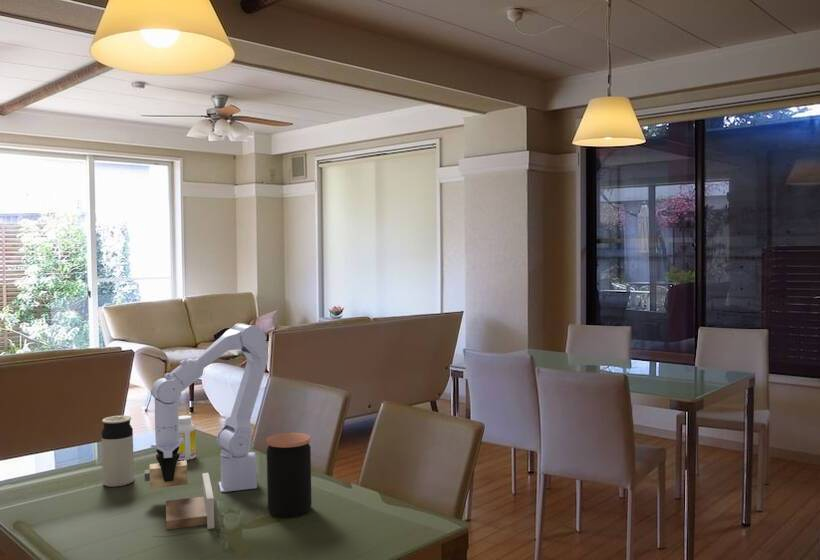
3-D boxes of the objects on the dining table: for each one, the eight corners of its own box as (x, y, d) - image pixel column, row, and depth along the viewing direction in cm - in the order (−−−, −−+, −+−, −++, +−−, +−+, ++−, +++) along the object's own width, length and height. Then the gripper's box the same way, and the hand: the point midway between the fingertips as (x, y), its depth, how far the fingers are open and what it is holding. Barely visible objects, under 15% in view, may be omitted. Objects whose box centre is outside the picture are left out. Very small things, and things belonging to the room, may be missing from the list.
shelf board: (209, 499, 184) (208, 472, 184) (214, 528, 165) (213, 498, 165) (203, 500, 184) (202, 473, 183) (207, 528, 165) (207, 498, 164)
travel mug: (115, 489, 193) (113, 423, 192) (96, 484, 197) (94, 419, 196) (140, 481, 200) (138, 417, 199) (122, 476, 204) (120, 413, 203)
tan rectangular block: (186, 479, 187) (186, 460, 187) (187, 484, 183) (186, 465, 183) (145, 483, 184) (144, 464, 184) (145, 489, 180) (144, 469, 179)
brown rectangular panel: (203, 504, 181) (203, 496, 181) (207, 524, 168) (206, 515, 168) (165, 508, 178) (165, 500, 178) (166, 529, 165) (166, 520, 165)
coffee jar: (319, 505, 179) (318, 434, 178) (299, 520, 169) (297, 445, 168) (281, 500, 183) (280, 431, 182) (259, 515, 173) (258, 441, 172)
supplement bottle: (193, 453, 226) (192, 413, 225) (198, 459, 220) (197, 417, 220) (171, 457, 222) (170, 416, 222) (176, 462, 217) (175, 420, 216)
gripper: (150, 420, 188) (152, 471, 189) (149, 434, 175) (151, 489, 175) (178, 418, 191) (180, 468, 191) (180, 431, 177) (181, 485, 178)
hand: (168, 478), depth 184 cm, fingers closed on tan rectangular block, 4 cm apart
